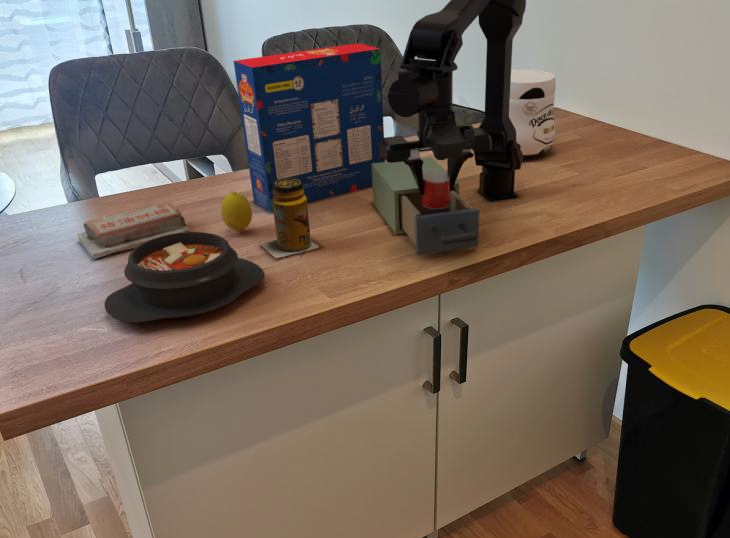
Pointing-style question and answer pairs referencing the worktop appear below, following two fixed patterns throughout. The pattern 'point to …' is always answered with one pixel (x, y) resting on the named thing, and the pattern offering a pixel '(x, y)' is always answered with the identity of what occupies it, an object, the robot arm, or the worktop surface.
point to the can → (436, 191)
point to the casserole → (181, 278)
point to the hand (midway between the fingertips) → (435, 192)
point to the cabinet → (397, 187)
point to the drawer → (438, 224)
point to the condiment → (290, 219)
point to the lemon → (236, 211)
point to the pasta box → (312, 119)
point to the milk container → (532, 110)
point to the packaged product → (130, 229)
